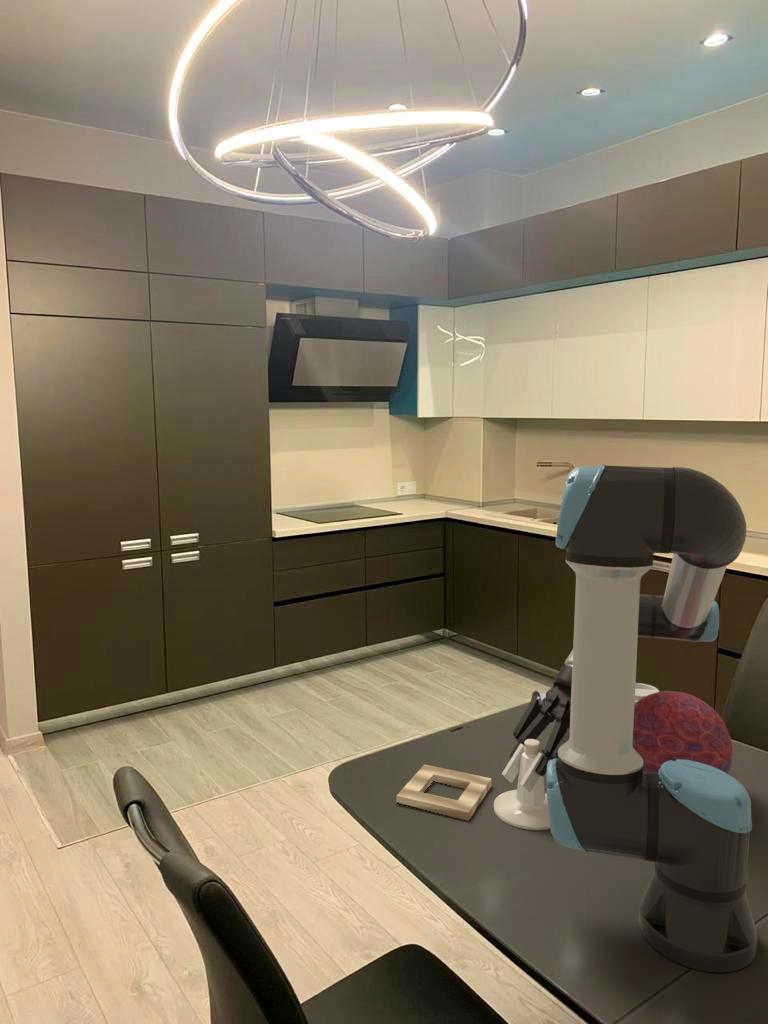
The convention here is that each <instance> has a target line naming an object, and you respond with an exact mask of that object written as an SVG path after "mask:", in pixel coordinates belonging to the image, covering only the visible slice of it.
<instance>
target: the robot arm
mask: <svg viewBox="0 0 768 1024" xmlns="http://www.w3.org/2000/svg"><path fill="white" fill-rule="evenodd" d="M559 509H560V510H559V514H558V521H557V527H556V536H555V547H557V548H559V549H561V550H565V563H566V564H567V565H568V566H569V567H570V568H571V569H572V571H573V572H574V574H575V594H574V595H575V596H574V597H575V598H574V600H575V601H574V618H573V619H574V620H573V622H574V623H573V624H574V625H573V640H572V641H573V643H572V646H573V647H572V650H571V651H570V653H569V655H568V656H567V658H566V659H565V661H564V665H563V666H561V667H560V669H559V671H558V672H557V674H556V675H555V677H554V679H553V685H552V686H551V687H550V688H549V689H548V690H547V691H546V692H541V693H540V692H539V691H538V690H534V691H533V692H532V694H531V698H530V699H531V700H530V702H529V704H527V705H528V706H527V707H526V709H525V711H524V712H523V714H522V716H521V717H520V720H519V721H518V722H517V725H516V726H515V728H514V729H513V731H512V736H513V737H514V739H515V740H516V741H517V743H516V745H515V746H514V748H513V750H512V751H511V753H510V755H509V759H510V760H509V761H508V763H507V764H506V766H505V768H504V770H503V771H502V773H501V775H502V776H503V777H504V778H505V779H506V780H507V781H508V782H510V783H513V782H514V780H515V778H516V777H517V776H518V775H519V770H520V763H521V757H522V754H523V752H525V744H524V742H525V740H527V739H535V740H538V738H539V737H540V736H541V734H542V733H543V732H544V731H545V729H546V728H547V727H548V726H549V725H550V724H551V723H554V722H555V723H554V725H553V727H552V730H551V733H550V735H549V738H548V741H547V743H546V745H545V748H544V749H541V752H539V753H538V754H537V756H536V758H535V759H534V761H533V763H532V764H531V766H530V768H529V769H528V771H527V773H526V774H525V776H524V778H523V779H522V781H521V783H520V785H521V786H522V787H524V788H525V789H526V790H527V791H528V792H531V791H532V789H533V787H534V786H535V784H536V782H537V781H538V779H539V777H540V776H542V777H543V776H545V775H546V793H547V805H548V815H549V823H550V829H549V830H550V832H551V835H552V837H553V839H554V842H555V843H557V844H558V845H559V846H561V847H564V848H570V849H575V850H579V851H581V852H583V853H587V854H589V853H593V854H594V853H595V854H600V855H606V856H613V857H619V858H620V857H621V858H626V859H633V860H639V861H645V862H646V861H647V862H652V863H654V872H653V874H652V876H651V877H650V881H649V882H648V885H647V887H646V889H645V891H644V893H643V896H642V897H641V901H640V903H639V908H638V909H639V910H638V912H639V913H638V926H639V927H638V928H639V930H640V933H641V934H642V936H643V937H644V939H645V940H646V942H647V943H648V944H649V945H650V946H651V947H652V948H653V949H654V950H656V951H657V952H658V953H659V954H661V955H662V956H664V957H665V958H667V959H669V960H672V961H673V962H675V963H677V964H679V965H682V966H683V967H687V968H690V969H693V970H697V971H702V972H708V973H730V972H736V971H739V970H741V969H744V968H746V967H748V966H749V965H750V964H752V962H753V961H754V960H755V957H756V954H757V945H758V935H757V934H758V932H757V928H756V924H755V922H754V921H755V920H754V917H753V914H752V910H751V906H750V903H749V900H748V895H747V878H748V865H749V852H750V850H749V849H750V840H751V839H750V838H751V837H750V835H751V831H752V829H753V821H752V803H751V802H752V801H751V797H750V794H749V793H748V791H747V789H746V788H745V787H744V785H743V784H742V783H741V782H740V781H739V780H738V779H736V778H734V777H733V776H731V775H729V773H728V774H727V773H725V772H723V771H721V770H719V769H717V768H714V767H712V766H709V765H706V764H703V763H699V762H695V761H690V760H679V759H678V760H675V761H672V760H670V761H667V762H665V763H663V764H662V766H661V768H660V769H659V773H654V772H646V771H643V764H644V762H643V758H642V757H641V756H640V755H639V753H638V752H637V751H636V750H635V749H634V748H633V726H634V705H635V684H636V683H637V682H636V681H637V678H636V677H637V659H638V658H637V657H638V638H639V637H642V638H651V639H652V638H654V639H665V640H672V641H673V640H674V641H685V642H692V643H697V642H705V643H707V642H708V643H709V642H711V643H712V642H714V641H715V640H716V639H717V637H719V636H718V635H719V630H720V629H719V628H720V609H719V604H718V603H717V601H716V600H715V599H716V596H717V593H718V591H719V588H720V585H721V583H722V581H723V578H724V574H725V572H726V571H727V567H728V566H729V565H730V564H732V563H733V562H734V561H736V560H737V558H738V557H739V556H740V554H741V553H742V550H743V548H744V546H745V545H744V544H745V543H746V539H747V522H746V518H745V515H744V512H743V510H742V507H741V506H740V504H739V502H738V500H737V499H736V498H735V496H734V495H733V493H732V492H730V490H729V489H728V488H726V486H725V485H723V484H722V483H721V482H719V480H716V479H715V478H714V477H712V476H710V475H708V474H707V473H704V472H702V471H700V470H696V469H692V468H688V467H681V466H672V467H662V466H659V467H658V466H635V465H634V466H630V465H629V466H627V465H607V464H601V465H581V466H580V465H579V466H577V467H575V468H573V469H572V470H571V471H569V473H568V475H567V477H566V481H565V485H564V489H563V494H562V499H561V504H560V508H559ZM654 554H673V556H672V560H671V563H670V564H671V565H670V567H669V568H670V569H669V573H668V576H667V577H668V578H667V581H666V587H665V590H664V595H653V594H640V593H641V579H642V577H643V576H645V574H646V573H648V572H649V571H650V570H651V569H652V568H653V566H654Z"/></svg>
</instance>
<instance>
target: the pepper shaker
mask: <svg viewBox="0 0 768 1024" xmlns="http://www.w3.org/2000/svg"><path fill="white" fill-rule="evenodd" d="M524 744H525V752H523V754H522V757H521V763H520V770H519V772H518V777H517V778H518V779H517V787H516V790H517V793H516V800H518V801H519V802H520V803H521V804H523V805H528V806H538V805H542V804H544V801H545V793H546V790H545V777H544V776H545V775H544V776H543V777H542V776H540V777H539V779H538V781H537V782H536V784H535V786H534V787H533V789H532V791H531V792H528V791H527V790H526V789H525V788H524V787H522V786H521V785H520V783H521V781H522V779H523V778H524V776H525V774H526V773H527V771H528V769H529V768H530V766H531V764H532V763H533V761H534V759H535V758H536V756H537V754H538V753H540V751H541V750H540V749H541V748H540V746H541V742H540V741H539V740H538V739H536V740H535V739H527V740H525V742H524Z"/></svg>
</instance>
